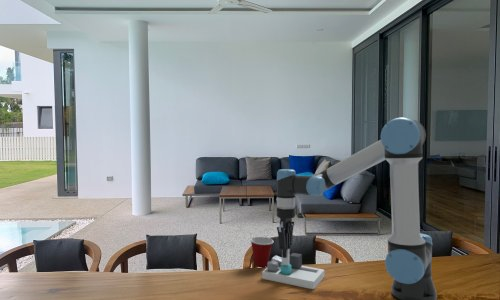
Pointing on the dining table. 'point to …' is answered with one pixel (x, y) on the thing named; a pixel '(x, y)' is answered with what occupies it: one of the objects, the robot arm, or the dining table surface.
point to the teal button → (286, 269)
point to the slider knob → (296, 260)
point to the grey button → (272, 266)
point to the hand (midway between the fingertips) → (285, 264)
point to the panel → (297, 276)
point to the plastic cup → (261, 250)
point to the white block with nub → (277, 259)
